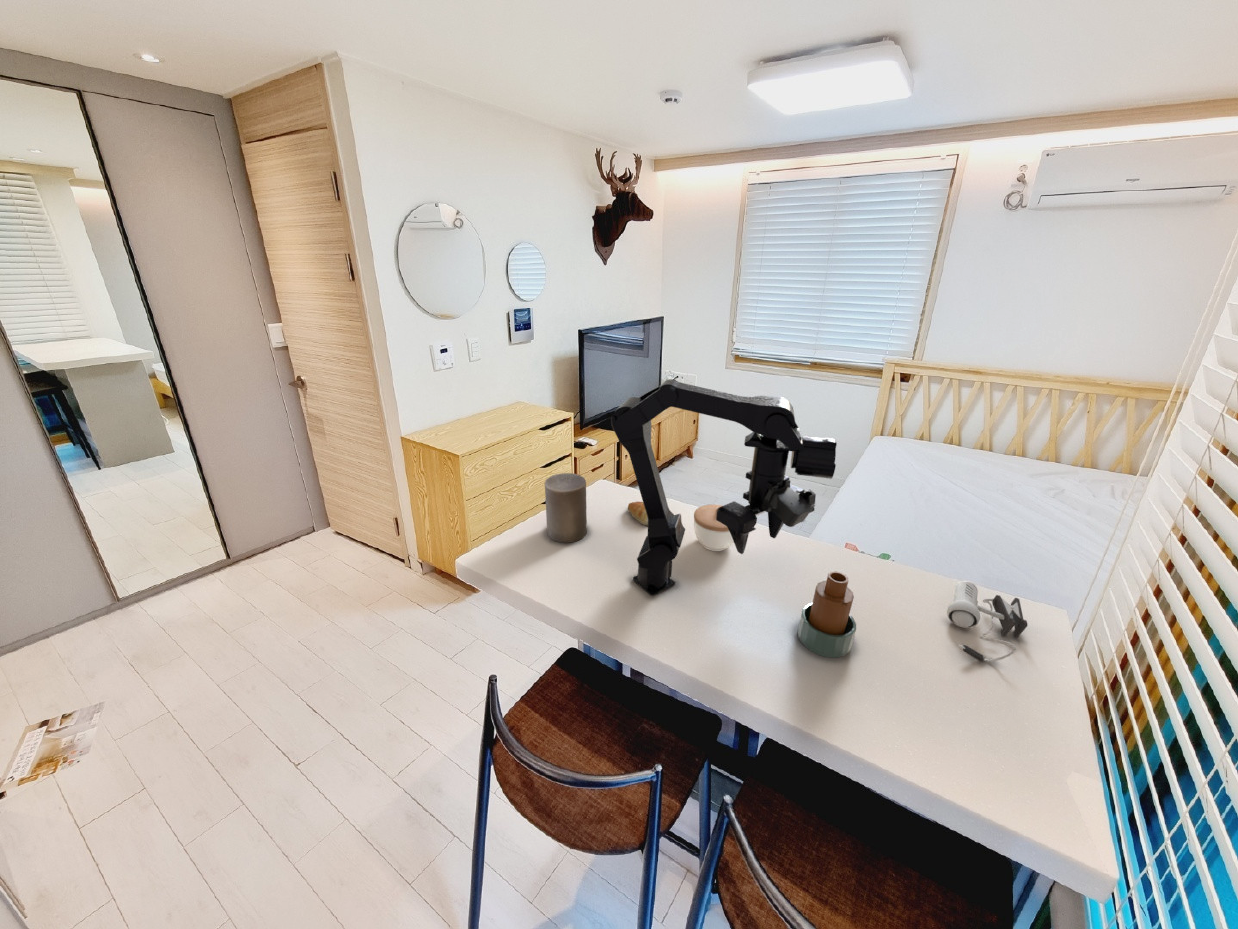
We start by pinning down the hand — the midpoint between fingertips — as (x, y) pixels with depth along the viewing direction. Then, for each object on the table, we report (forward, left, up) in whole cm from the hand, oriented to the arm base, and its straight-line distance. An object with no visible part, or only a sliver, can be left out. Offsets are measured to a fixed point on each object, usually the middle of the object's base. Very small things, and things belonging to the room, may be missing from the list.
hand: (757, 545), depth 95 cm
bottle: (+3, -15, -12) cm, 20 cm away
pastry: (+3, +37, -13) cm, 39 cm away
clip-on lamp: (+28, -31, -13) cm, 44 cm away
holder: (+3, -15, -13) cm, 20 cm away
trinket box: (+9, +18, -13) cm, 24 cm away
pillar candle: (-17, +42, -13) cm, 47 cm away
